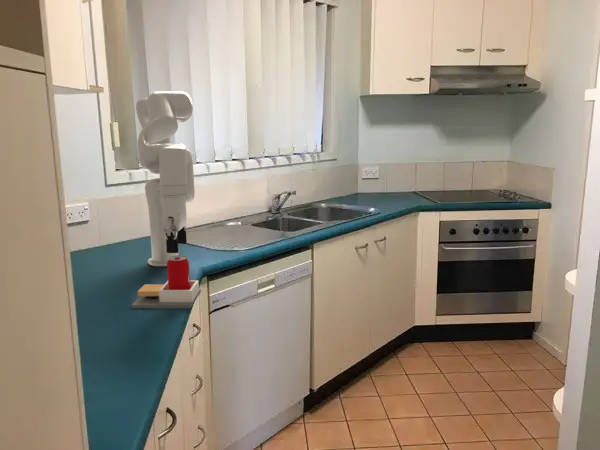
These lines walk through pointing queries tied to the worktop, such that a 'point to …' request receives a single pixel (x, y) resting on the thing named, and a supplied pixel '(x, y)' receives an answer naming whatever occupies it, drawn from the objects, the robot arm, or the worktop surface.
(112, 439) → the worktop surface
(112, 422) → the worktop surface
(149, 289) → the tan flat square block
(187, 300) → the grey tray with holder
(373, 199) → the worktop surface
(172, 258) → the beverage can
